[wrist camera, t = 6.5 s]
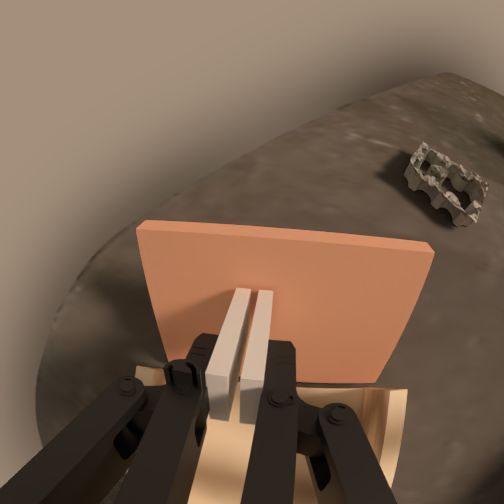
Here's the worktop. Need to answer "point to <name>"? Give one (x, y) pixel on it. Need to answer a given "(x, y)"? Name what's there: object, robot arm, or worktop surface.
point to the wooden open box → (240, 441)
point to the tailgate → (287, 290)
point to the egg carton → (459, 181)
